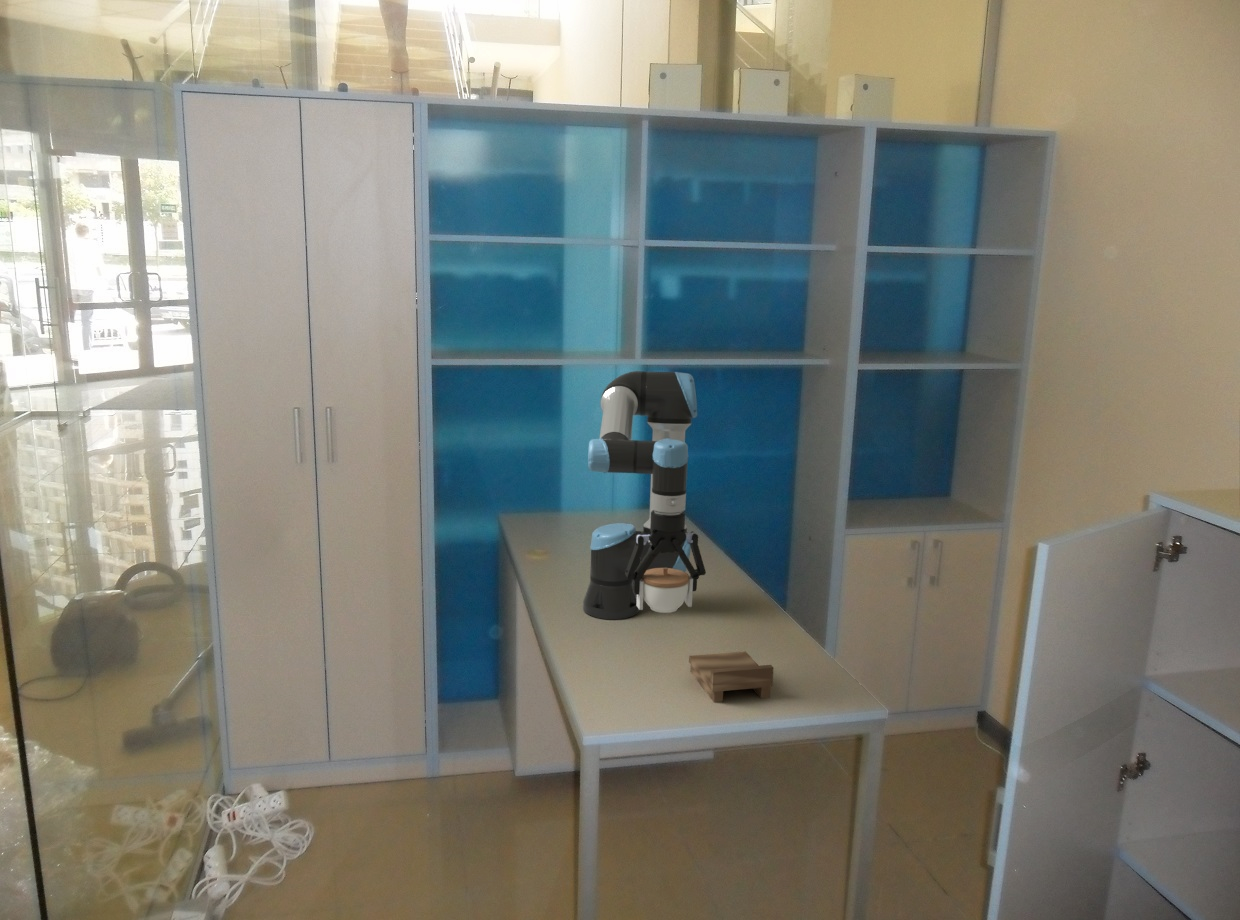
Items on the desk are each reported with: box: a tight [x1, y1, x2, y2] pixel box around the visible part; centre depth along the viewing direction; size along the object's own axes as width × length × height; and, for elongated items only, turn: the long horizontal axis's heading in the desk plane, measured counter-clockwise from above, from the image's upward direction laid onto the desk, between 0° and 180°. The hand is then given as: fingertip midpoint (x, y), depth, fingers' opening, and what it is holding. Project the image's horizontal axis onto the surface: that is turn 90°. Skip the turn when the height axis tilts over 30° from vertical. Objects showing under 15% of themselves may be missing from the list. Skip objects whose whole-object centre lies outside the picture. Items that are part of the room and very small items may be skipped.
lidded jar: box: [641, 568, 690, 614], centre depth 218 cm, size 11×11×9 cm
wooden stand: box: [688, 650, 775, 703], centre depth 222 cm, size 16×14×7 cm
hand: (664, 606), depth 219 cm, fingers closed on lidded jar, 11 cm apart
